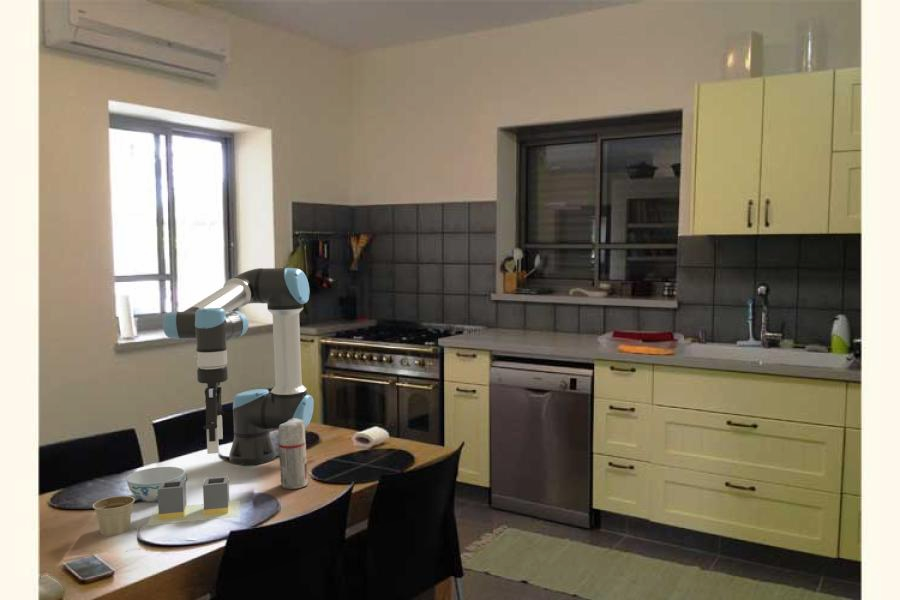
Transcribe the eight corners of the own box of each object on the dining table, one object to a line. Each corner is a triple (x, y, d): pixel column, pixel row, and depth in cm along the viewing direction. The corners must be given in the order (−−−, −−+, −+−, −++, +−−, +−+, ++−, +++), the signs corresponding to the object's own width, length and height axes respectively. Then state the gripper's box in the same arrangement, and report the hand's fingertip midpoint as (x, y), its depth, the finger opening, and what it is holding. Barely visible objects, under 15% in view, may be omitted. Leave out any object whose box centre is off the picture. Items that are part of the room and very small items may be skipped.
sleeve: (206, 507, 186) (205, 478, 186) (229, 505, 188) (228, 476, 187) (204, 515, 181) (202, 485, 180) (228, 513, 182) (227, 483, 181)
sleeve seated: (162, 511, 184) (161, 482, 183) (186, 509, 185) (185, 479, 185) (158, 519, 178) (157, 489, 177) (183, 517, 179) (182, 487, 179)
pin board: (154, 513, 186) (153, 490, 186) (240, 505, 191) (239, 482, 191) (146, 531, 174) (145, 506, 174) (237, 521, 180) (236, 497, 179)
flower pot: (103, 529, 176) (102, 496, 175) (141, 527, 177) (140, 494, 176) (87, 544, 167) (85, 509, 166) (128, 543, 168) (126, 508, 167)
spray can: (301, 491, 203) (299, 423, 201) (275, 489, 204) (273, 422, 203) (312, 481, 211) (311, 416, 210) (287, 480, 213) (285, 416, 211)
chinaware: (129, 515, 185) (127, 487, 185) (126, 498, 199) (125, 471, 198) (188, 505, 192) (187, 478, 192) (182, 489, 206) (181, 463, 205)
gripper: (202, 360, 193) (205, 434, 195) (191, 375, 169) (195, 460, 171) (230, 358, 195) (232, 432, 197) (223, 373, 171) (227, 458, 172)
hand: (215, 445), depth 184 cm, fingers open, 13 cm apart
